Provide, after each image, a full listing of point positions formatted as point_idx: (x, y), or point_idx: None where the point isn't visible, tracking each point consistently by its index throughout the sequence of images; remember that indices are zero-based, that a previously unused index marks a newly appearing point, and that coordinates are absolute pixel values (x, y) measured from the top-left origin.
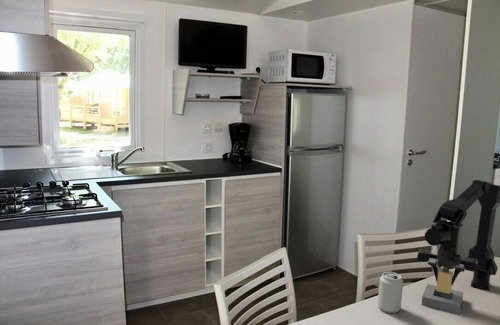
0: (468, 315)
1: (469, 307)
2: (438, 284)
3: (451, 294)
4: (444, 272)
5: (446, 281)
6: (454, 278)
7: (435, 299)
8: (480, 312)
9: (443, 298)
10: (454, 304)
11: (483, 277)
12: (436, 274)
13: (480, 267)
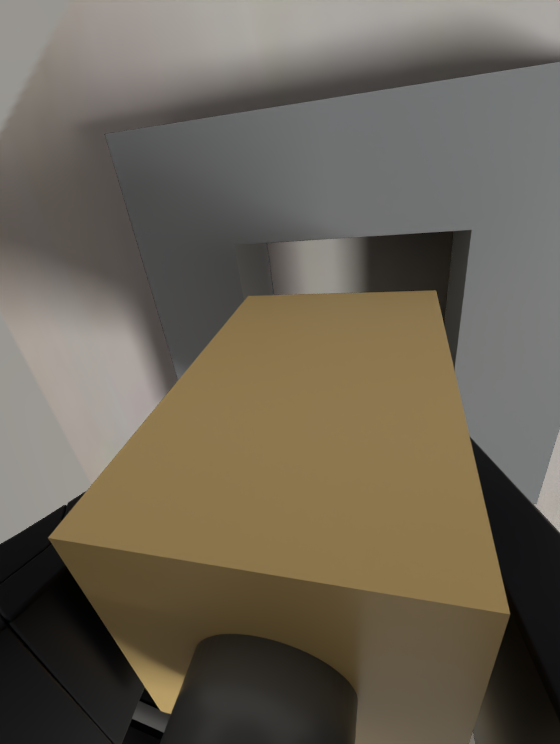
0: (101, 166)
1: (155, 332)
2: (415, 341)
3: None
4: (274, 606)
5: (257, 393)
6: None
7: (425, 96)
8: (72, 293)
9: (324, 220)
10: (170, 126)
11: None
12: (513, 541)
13: (136, 737)
